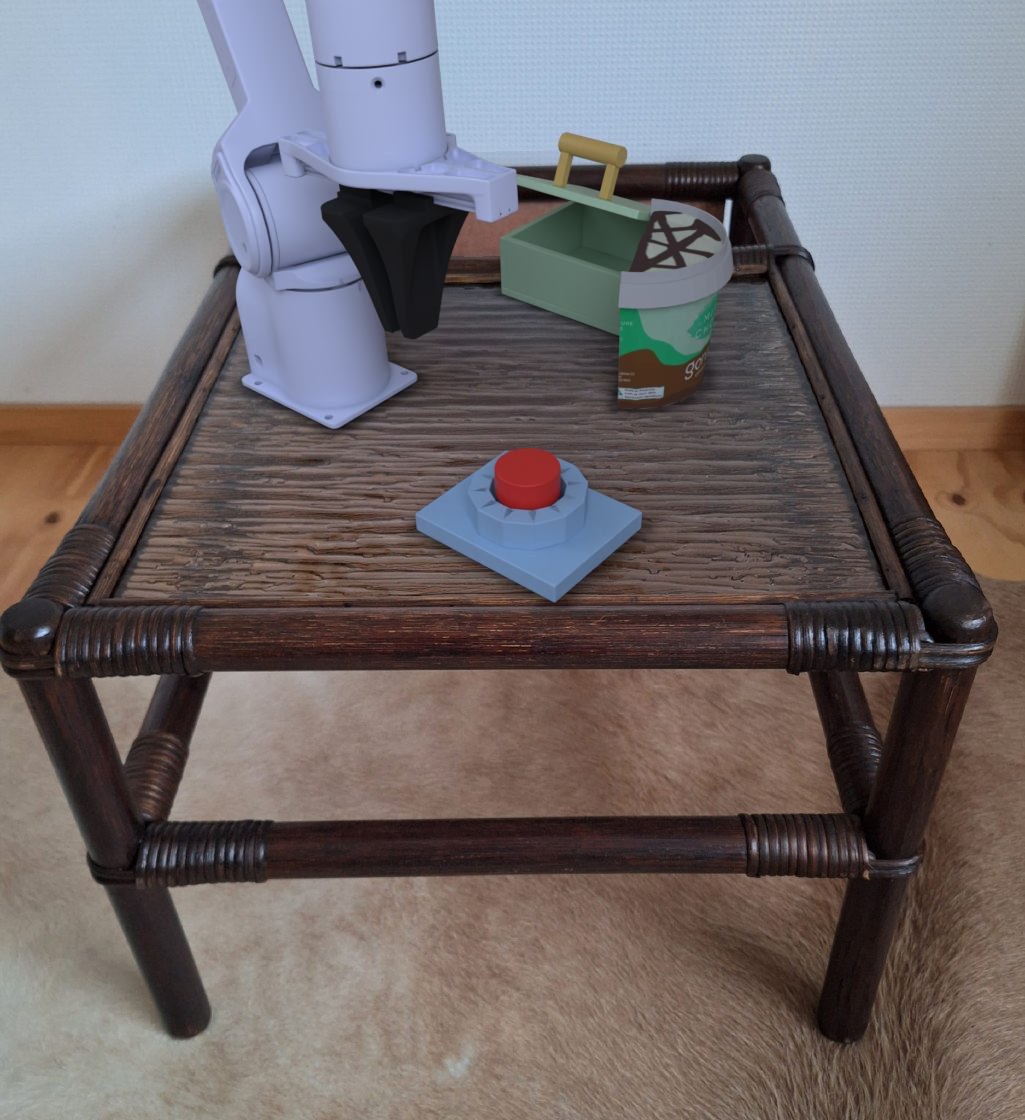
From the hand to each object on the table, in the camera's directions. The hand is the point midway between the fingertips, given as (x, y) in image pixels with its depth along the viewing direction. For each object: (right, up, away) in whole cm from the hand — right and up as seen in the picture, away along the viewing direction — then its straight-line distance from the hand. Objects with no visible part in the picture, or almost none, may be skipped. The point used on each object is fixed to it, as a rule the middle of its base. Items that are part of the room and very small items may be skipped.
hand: (411, 328), depth 58 cm
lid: (+12, +14, +21) cm, 28 cm away
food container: (+17, 0, +16) cm, 23 cm away
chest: (+13, +8, +26) cm, 30 cm away
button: (+6, -9, +2) cm, 11 cm away
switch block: (+6, -11, +3) cm, 13 cm away
